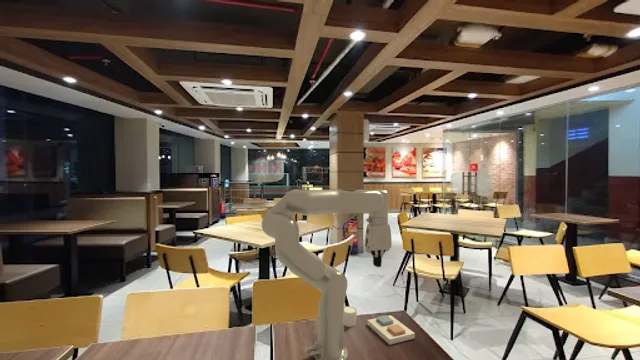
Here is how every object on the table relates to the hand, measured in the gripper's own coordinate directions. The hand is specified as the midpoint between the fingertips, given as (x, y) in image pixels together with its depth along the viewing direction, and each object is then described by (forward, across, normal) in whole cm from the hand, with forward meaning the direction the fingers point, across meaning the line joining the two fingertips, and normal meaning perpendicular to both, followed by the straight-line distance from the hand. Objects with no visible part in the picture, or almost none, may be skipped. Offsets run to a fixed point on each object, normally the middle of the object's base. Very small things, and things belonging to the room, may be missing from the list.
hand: (377, 265), depth 121 cm
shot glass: (+29, -6, +12) cm, 32 cm away
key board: (+29, +7, 0) cm, 30 cm away
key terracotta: (+27, +7, -4) cm, 28 cm away
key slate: (+27, +7, +4) cm, 28 cm away
